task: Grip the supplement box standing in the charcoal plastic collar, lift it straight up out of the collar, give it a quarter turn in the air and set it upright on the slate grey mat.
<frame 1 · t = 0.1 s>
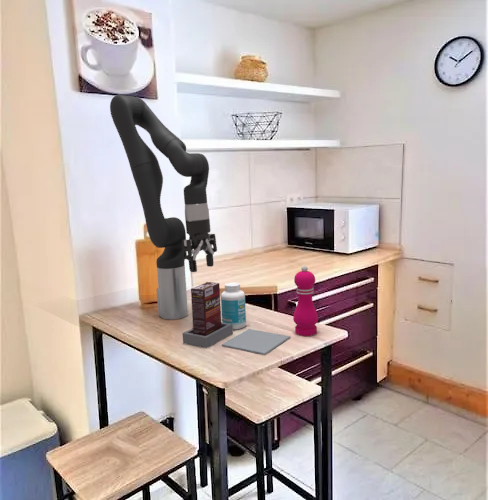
hand: (202, 269, 148), 17 cm above the table, tool pointing down, fingers open, 8 cm apart
charcoal collar: (208, 338, 136), on the table
slate mat: (256, 341, 131), on the table
supplement box: (208, 339, 136), resting in charcoal collar
pepper mill: (306, 333, 137), on the table
pill bottle: (234, 327, 145), on the table
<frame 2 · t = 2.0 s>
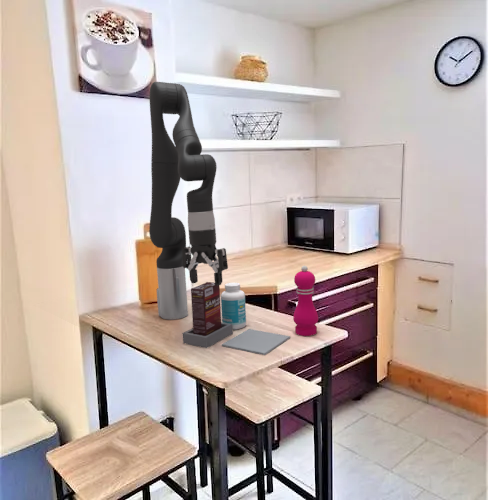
hand: (206, 283, 133), 16 cm above the table, tool pointing down, fingers open, 8 cm apart
nothing on the table moved.
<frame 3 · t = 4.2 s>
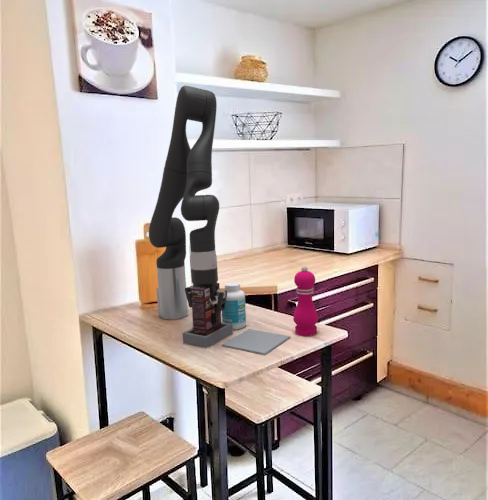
hand: (207, 323, 135), 5 cm above the table, tool pointing down, fingers closed on supplement box, 5 cm apart
supplement box: (208, 339, 136), resting in charcoal collar, touching gripper
everything else where it was.
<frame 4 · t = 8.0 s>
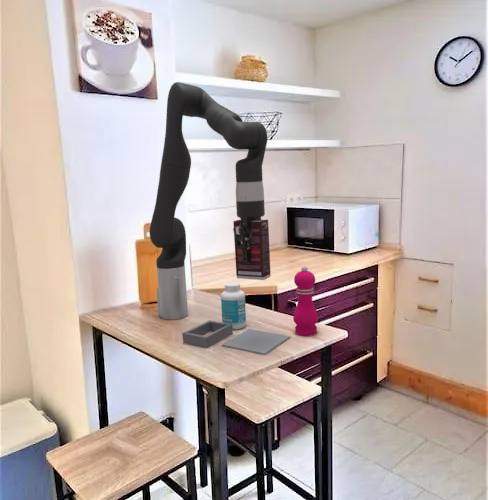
hand: (252, 261, 127), 23 cm above the table, tool pointing down, fingers closed on supplement box, 5 cm apart
supplement box: (253, 278, 128), point 18 cm above the table, touching gripper
everything else where it was.
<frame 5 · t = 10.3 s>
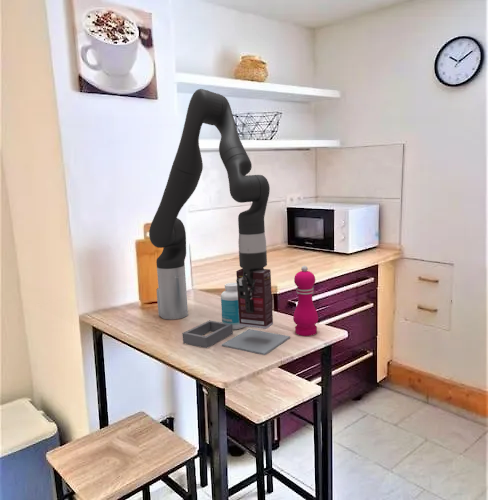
hand: (255, 309, 130), 9 cm above the table, tool pointing down, fingers closed on supplement box, 5 cm apart
supplement box: (256, 325, 131), point 5 cm above the table, touching gripper
everything else where it was.
when the fingers open (6 cm above the table, at t = 12.0 s): supplement box stays where it is, resting on slate mat.
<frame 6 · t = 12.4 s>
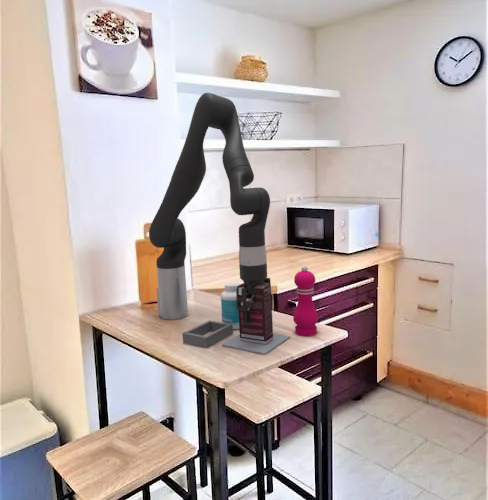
hand: (255, 318, 130), 7 cm above the table, tool pointing down, fingers open, 8 cm apart
supplement box: (256, 340, 131), resting on slate mat
everything else where it was.
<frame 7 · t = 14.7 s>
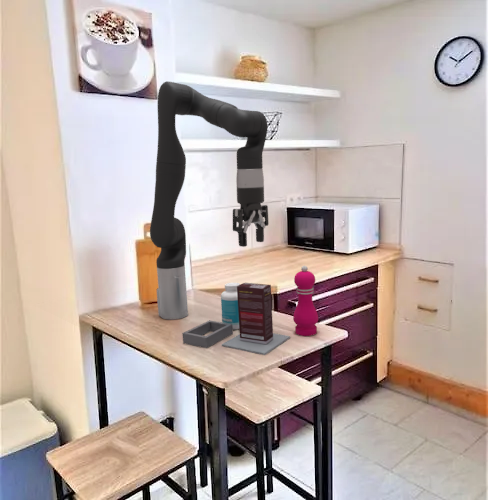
hand: (251, 244, 131), 27 cm above the table, tool pointing down, fingers open, 8 cm apart
nothing on the table moved.
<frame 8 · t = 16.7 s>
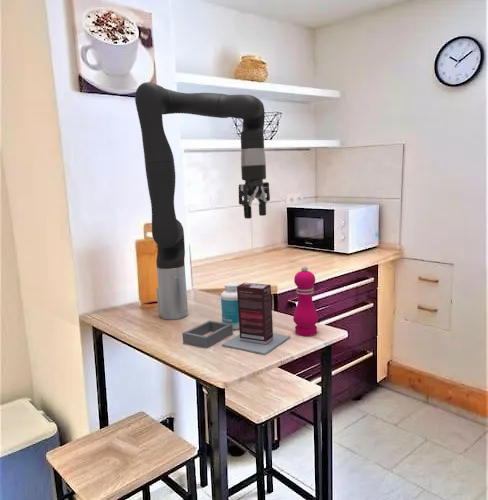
hand: (255, 216, 146), 33 cm above the table, tool pointing down, fingers open, 8 cm apart
nothing on the table moved.
at the end: supplement box inside the target area on the slate mat (0.2 cm from its centre), point 0.3 cm above the slate mat's base; supplement box tilted 0°; the gripper is holding nothing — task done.
